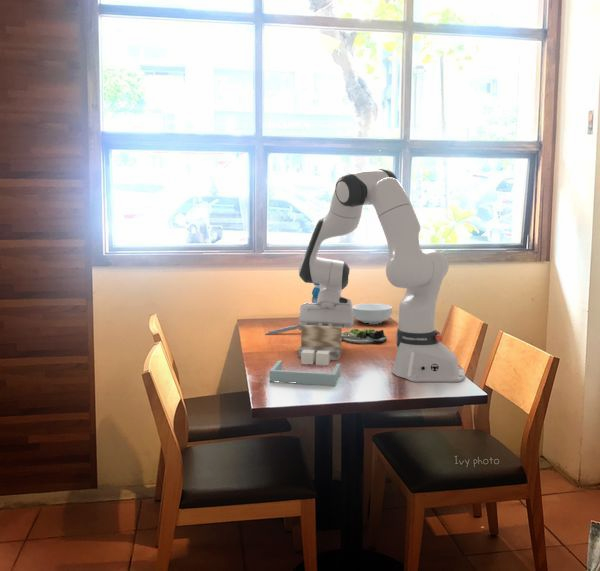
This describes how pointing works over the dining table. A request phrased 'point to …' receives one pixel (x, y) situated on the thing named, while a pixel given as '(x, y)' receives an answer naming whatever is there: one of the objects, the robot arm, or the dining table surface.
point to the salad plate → (364, 336)
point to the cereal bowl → (372, 312)
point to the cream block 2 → (322, 357)
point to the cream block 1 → (308, 356)
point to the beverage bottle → (315, 292)
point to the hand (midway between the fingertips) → (324, 335)
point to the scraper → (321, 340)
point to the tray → (304, 376)
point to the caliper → (285, 329)
